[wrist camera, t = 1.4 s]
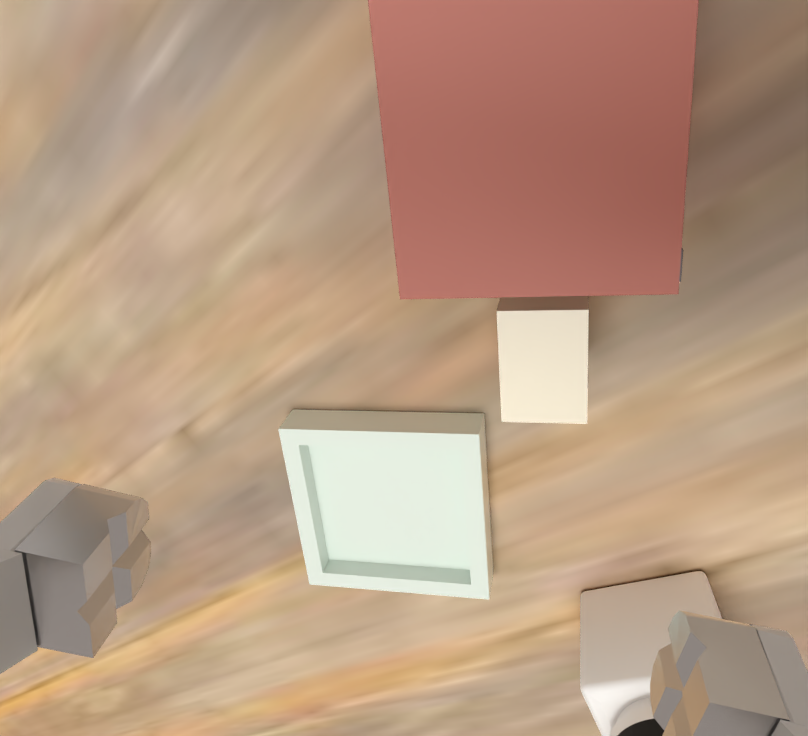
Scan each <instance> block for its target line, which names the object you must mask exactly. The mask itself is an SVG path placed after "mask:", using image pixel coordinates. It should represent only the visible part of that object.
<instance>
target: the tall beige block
mask: <svg viewBox="0 0 808 736" xmlns="http://www.w3.org/2000/svg"><path fill="white" fill-rule="evenodd" d="M588 317H589V307H588V296H553V297H501V298H500V301H499V304H498V308H497V331H498V353H499V375H500V396H501V418H502V422H531V423H572V424H587V398H588Z"/></svg>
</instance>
